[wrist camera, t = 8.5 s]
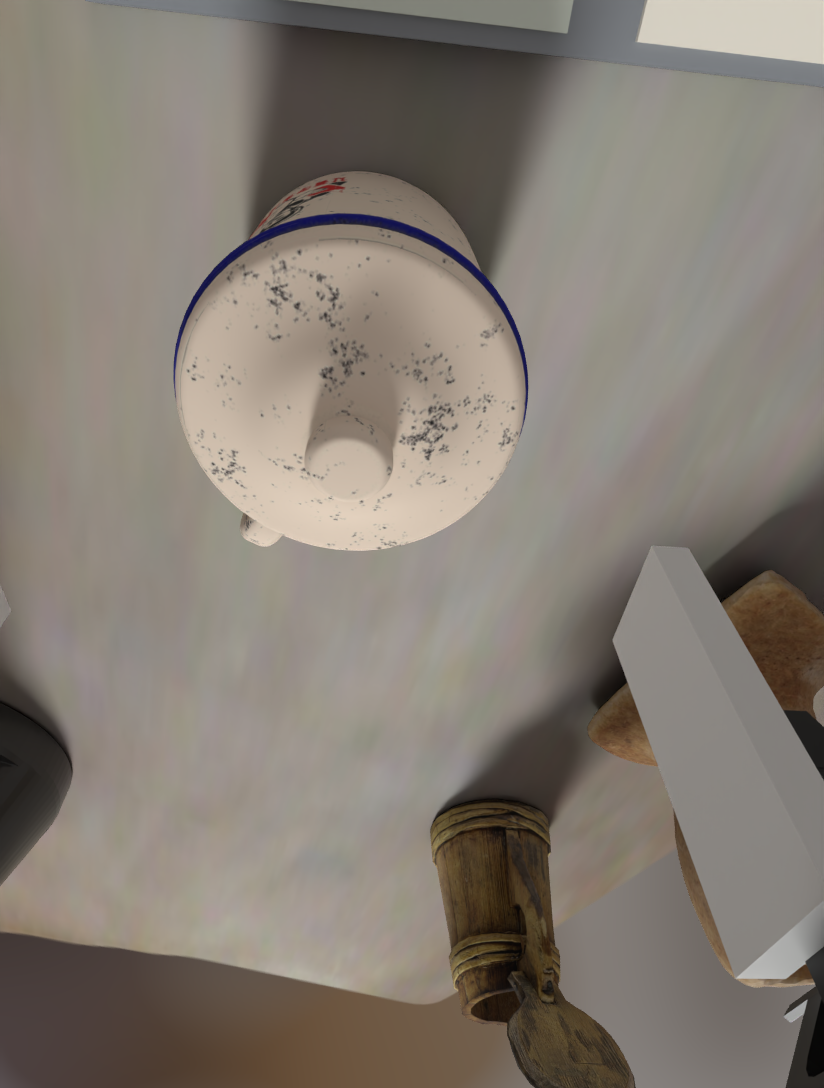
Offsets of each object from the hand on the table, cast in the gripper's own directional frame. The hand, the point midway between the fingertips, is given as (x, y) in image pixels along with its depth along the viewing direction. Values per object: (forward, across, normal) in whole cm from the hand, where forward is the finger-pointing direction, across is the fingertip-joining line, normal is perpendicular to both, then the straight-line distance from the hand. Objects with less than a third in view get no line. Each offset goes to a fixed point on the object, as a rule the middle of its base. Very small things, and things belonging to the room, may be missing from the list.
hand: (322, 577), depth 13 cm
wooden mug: (+14, +12, -34) cm, 39 cm away
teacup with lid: (+14, 0, 0) cm, 14 cm away
